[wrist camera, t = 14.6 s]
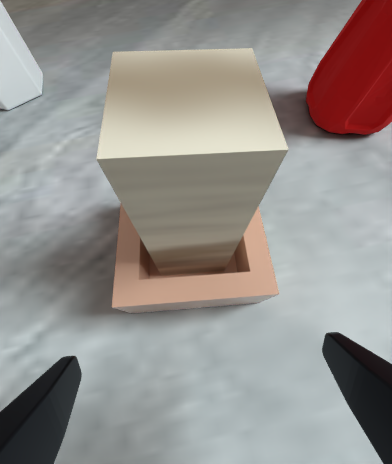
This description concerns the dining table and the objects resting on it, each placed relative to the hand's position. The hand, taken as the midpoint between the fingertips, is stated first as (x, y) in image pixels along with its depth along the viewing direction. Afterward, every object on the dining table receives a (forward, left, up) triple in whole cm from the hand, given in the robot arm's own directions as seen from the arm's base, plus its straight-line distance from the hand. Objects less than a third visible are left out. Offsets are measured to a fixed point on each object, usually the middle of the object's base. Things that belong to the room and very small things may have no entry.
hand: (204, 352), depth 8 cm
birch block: (+7, 0, -8) cm, 11 cm away
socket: (+7, 0, -9) cm, 12 cm away
